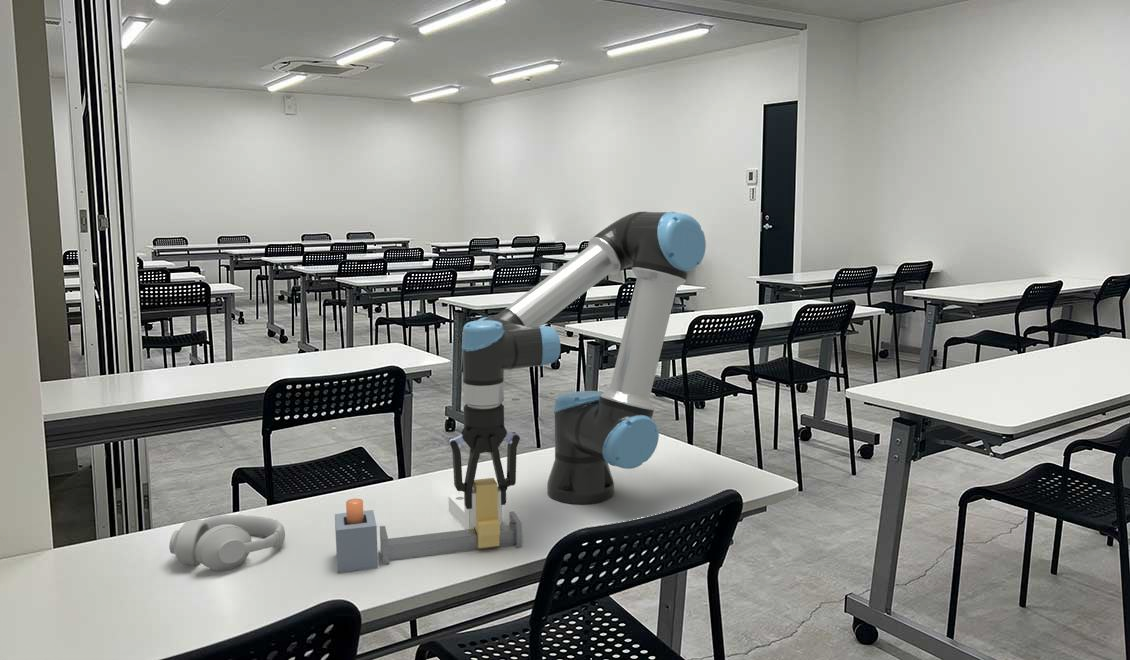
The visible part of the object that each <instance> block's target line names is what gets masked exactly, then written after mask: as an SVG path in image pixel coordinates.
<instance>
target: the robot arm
mask: <svg viewBox="0 0 1130 660" xmlns="http://www.w3.org/2000/svg"><path fill="white" fill-rule="evenodd" d="M704 232H705V231H703V229H702V226H701V225H700V223H699V221H697V219H696V218H694V217H693V216H691V215H689V214H687V213H680V212H675V211H665V212H662V211H661V212H658V211H657V212H656V211H655V212H653V211H652V212H651V211H636V212H632V213H629V214H627V215H625V216H623V217H621V218H619V219H618V220H615V221H614V222H612V223H611V224H609V225H608V226H607V227H605V228H603V229H602V230H600V231H599V232H598V233H597V234H595V235H593V236H592V237H591V238H590V239H589V240H588V242H587V243H588V245H587V247H586V248H585V249H583V250H581V252H579V253H578V254H576V255H575V256H573V257H572V258H571V259H570V260H568V261H567V262H566V263H564V264H563V265H562V266H560V267H558V268H557V269H556V270H555V271H553V272H552V273H551V274H550V275H548V276H547V277H546V278H544V279H543V280H541V281H540V282H539V283H537V284H536V285H535V286H534V287H532V288H531V289H529V290H528V291H527V292H526V293H524V294H523V295H521V296H520V297H519V298H518V299H516V300H515V301H513V302H512V303H510V305H508V306H507V307H506V308H504V309H503V310H501V311H500V312H499V313H497V314H496V315H495V316H486V317H485V316H484V317H481V318H479V319H477V320H473V321H468V322H466V323H465V324H464V326H463V328H462V337H461V339H462V340H461V350H462V352H461V353H462V377H463V379H462V381H463V388H462V389H463V403H464V404H465V405H463V430H462V431H461V434H460V435H458V436H456V437H450V438H449V439H448V444H449V446H450V447H451V452H452V454H451V455H452V467H453V470H452V471H453V485H454V487H455V489H456V491H457V492H463V494H464V503H465V506H466V508H467V509H470V522H471V524H472V526H473V527H475V526H477V508H476V492H475V490H474V489H473V484H474V480H476V479H475V478H476V472H477V470H478V469H477V467H478V463H479V459H480V457H481V455H482V454H484V453H489V454H490V455H491V456H490V457H491V460H492V464H493V468H494V470H493V471H494V473H495V474H494V475H495V478H496V483H497V487H498V520H499V522H500V525H502V523H501V505H502V506H505V505H506V503H507V490H508V488H509V487H511V486H512V487H513V486H515V485H516V483H517V447H518V445H519V443H520V439H521V437H520V435H518V433H517V432H515V431H513V432H510V431H508V430H507V429H506V427H505V406H504V404H503V403H504V400H505V398H504V396H505V394H504V393H505V392H504V376H505V375H504V374H505V373H504V371H509V370H515V369H523V368H531V367H542V366H546V365H550V364H553V363H555V362H557V360H558V359H559V357H560V355H561V339H560V336H559V334H558V332H557V330H556V329H555V328H553V327H552V326H548V325H545V324H546V323H547V322H548V321H550V320H551V319H552V318H554V317H555V316H556V315H558V314H559V313H560V312H562V311H563V310H564V309H566V308H567V307H568V306H569V305H571V304H572V303H573V302H574V301H576V300H577V299H579V297H581V296H583V295H584V294H585V293H587V291H589V290H590V289H591V288H593V287H594V286H595V285H596V284H599V282H600V281H602V280H603V279H604V278H607V276H609V275H612V276H616V275H618V274H619V273H620V272H621V271H622V270H624V269H627V268H630V267H631V271H632V272H633V274H634V276H635V277H636V281H635V284H634V285H635V286H634V289H633V294H632V296H631V297H632V298H631V301H630V304H629V309H628V314H627V318H626V321H625V325H624V330H623V334H622V337H621V341H620V345H619V349H618V354H617V357H616V362H615V365H614V368H613V369H614V370H613V373H612V378H611V382H610V385H609V388H608V390H606V391H601V390H585V391H584V390H583V391H573V392H566V393H563V394H560V395H558V396H557V397H556V399H555V401H554V410H553V411H554V412H553V414H554V461H553V463H552V464H553V465H552V467H551V470H550V473H549V476H548V479H547V488H546V489H547V495H548V496H549V497H550V498H551V499H554V500H556V501H558V502H563V503H566V504H567V503H568V504H575V505H578V504H579V505H580V504H581V505H585V504H587V505H588V504H596V503H599V502H600V503H601V502H604V501H606V500H609V499H611V498H612V497H613V496H614V495H615V481H614V478H613V476H612V472H611V470H610V466H613V467H617V468H618V467H619V468H621V469H624V470H625V469H626V470H628V469H629V470H630V469H635V468H638V467H641V466H642V465H643V463H645V462H647V461H649V459H650V458H651V457H652V456H653V454H654V453H655V451H656V449H657V446H658V443H659V438H660V437H659V436H660V434H659V430H658V428H657V427H658V426H657V424H656V422H655V421H654V419H653V414H654V411H655V407H654V405H653V403H652V402H651V400H650V398H651V393H652V389H653V385H654V381H655V376H656V372H657V369H658V366H659V362H660V361H659V360H660V358H661V352H662V349H663V344H664V342H665V337H666V333H667V328H668V325H669V321H670V316H671V313H672V309H673V305H674V299H675V297H676V292H677V289H678V288H679V287H680V286H682V285H683V284H685V283H686V282H687V278H688V274H689V272H691V271H692V270H694V269H696V268H697V266H698V265H700V264H701V263H702V261H703V259H704V257H705V253H706V247H707V246H706V245H707V242H706V241H707V240H706V237H705V233H704ZM543 325H545V326H543ZM504 440H505V441H506V443H507V446H506V447H507V450H506V451H507V454H506V456H507V457H506V478H505V473H504V469H503V464H502V460H501V455H500V450H499V447H500V445H501V444H502V443H503V441H504ZM463 442H464V443H465V444H466V445H467V446H468V447H469V456H468V461H467V467H466V472H465V478H464V481H463V467H462V453H461V450H460V449H462V448H463ZM609 465H610V466H609Z"/></svg>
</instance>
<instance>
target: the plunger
mask: <svg viewBox="0 0 1130 660" xmlns="http://www.w3.org/2000/svg"><path fill="white" fill-rule="evenodd" d="M345 506H346V508H345V509H346V512H345V513H346V514H347V525H351V524H360V523H364V514H363V511H364V500H363V499H361V498H350V499H347V500H346V502H345Z"/></svg>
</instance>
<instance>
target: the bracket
mask: <svg viewBox="0 0 1130 660" xmlns="http://www.w3.org/2000/svg"><path fill="white" fill-rule="evenodd" d="M447 499H448V512H450V513H451V515H452V516H453V517H454V518H455V519H456V520H457V521H458V523H460V524H461V526H462V527H464V530H466V529H473V526H472V524H471V522H470V509H467V508H466V506H465V503H464V493H459V494H452V495H448V498H447ZM501 524H503V505H501Z"/></svg>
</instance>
